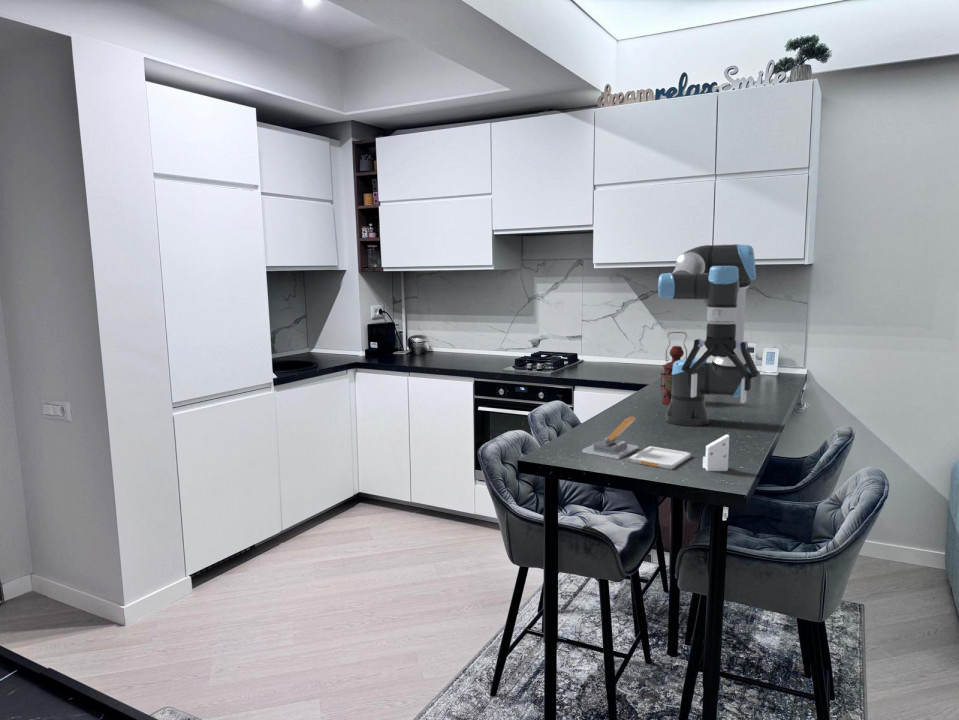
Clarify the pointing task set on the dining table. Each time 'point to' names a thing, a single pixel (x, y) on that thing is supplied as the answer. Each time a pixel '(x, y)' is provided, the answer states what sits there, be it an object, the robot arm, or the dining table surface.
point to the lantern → (670, 370)
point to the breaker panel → (610, 449)
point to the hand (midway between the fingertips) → (717, 399)
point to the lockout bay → (660, 457)
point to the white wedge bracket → (717, 455)
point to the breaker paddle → (619, 430)
